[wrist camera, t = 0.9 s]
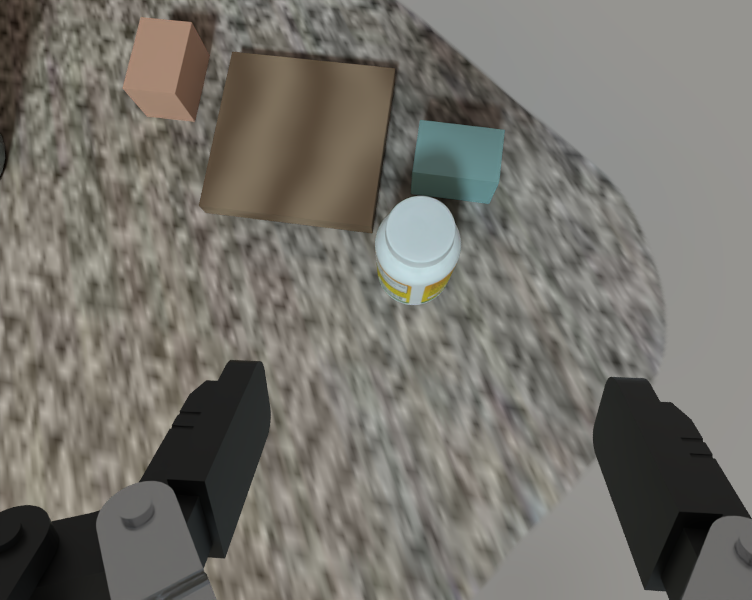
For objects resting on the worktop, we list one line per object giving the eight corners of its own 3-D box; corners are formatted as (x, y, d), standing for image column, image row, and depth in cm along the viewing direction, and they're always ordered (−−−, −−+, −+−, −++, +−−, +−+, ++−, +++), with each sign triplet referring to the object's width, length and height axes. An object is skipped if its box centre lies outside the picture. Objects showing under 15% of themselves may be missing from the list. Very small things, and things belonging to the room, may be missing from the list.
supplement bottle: (377, 306, 39) (371, 274, 29) (378, 236, 40) (372, 184, 30) (451, 306, 38) (468, 274, 29) (449, 236, 40) (466, 183, 30)
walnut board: (206, 212, 41) (198, 205, 39) (237, 63, 43) (232, 51, 42) (372, 233, 40) (371, 226, 38) (395, 80, 42) (395, 68, 41)
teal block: (410, 194, 40) (412, 171, 37) (417, 146, 41) (420, 119, 37) (488, 204, 40) (499, 182, 36) (494, 156, 41) (504, 129, 37)
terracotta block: (195, 122, 42) (175, 93, 38) (147, 117, 43) (122, 88, 39) (210, 56, 44) (191, 22, 40) (163, 52, 44) (140, 17, 40)
